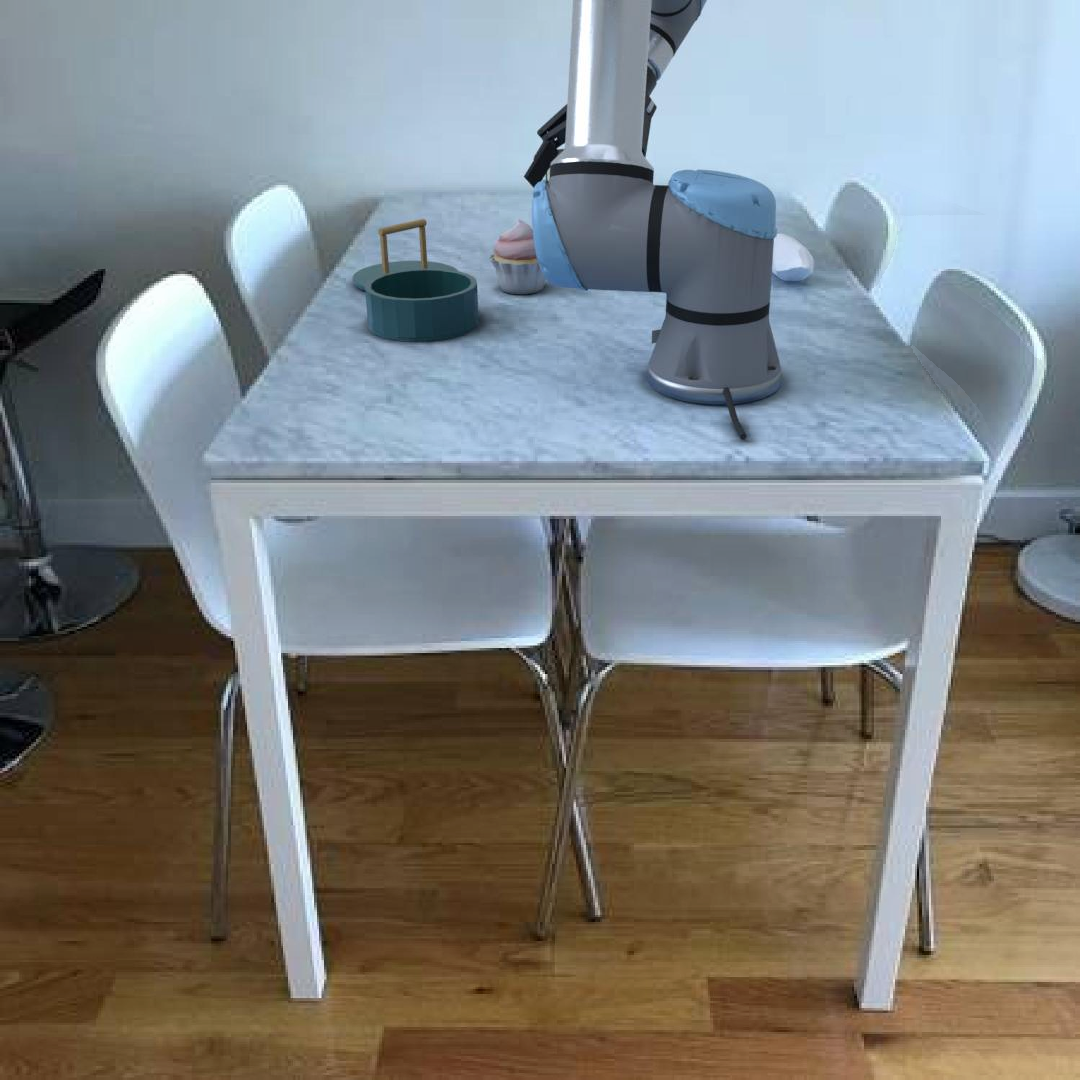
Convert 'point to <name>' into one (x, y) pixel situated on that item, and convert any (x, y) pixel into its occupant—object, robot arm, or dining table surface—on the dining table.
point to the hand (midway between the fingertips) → (561, 189)
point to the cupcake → (517, 261)
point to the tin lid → (387, 267)
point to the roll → (791, 259)
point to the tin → (422, 304)
